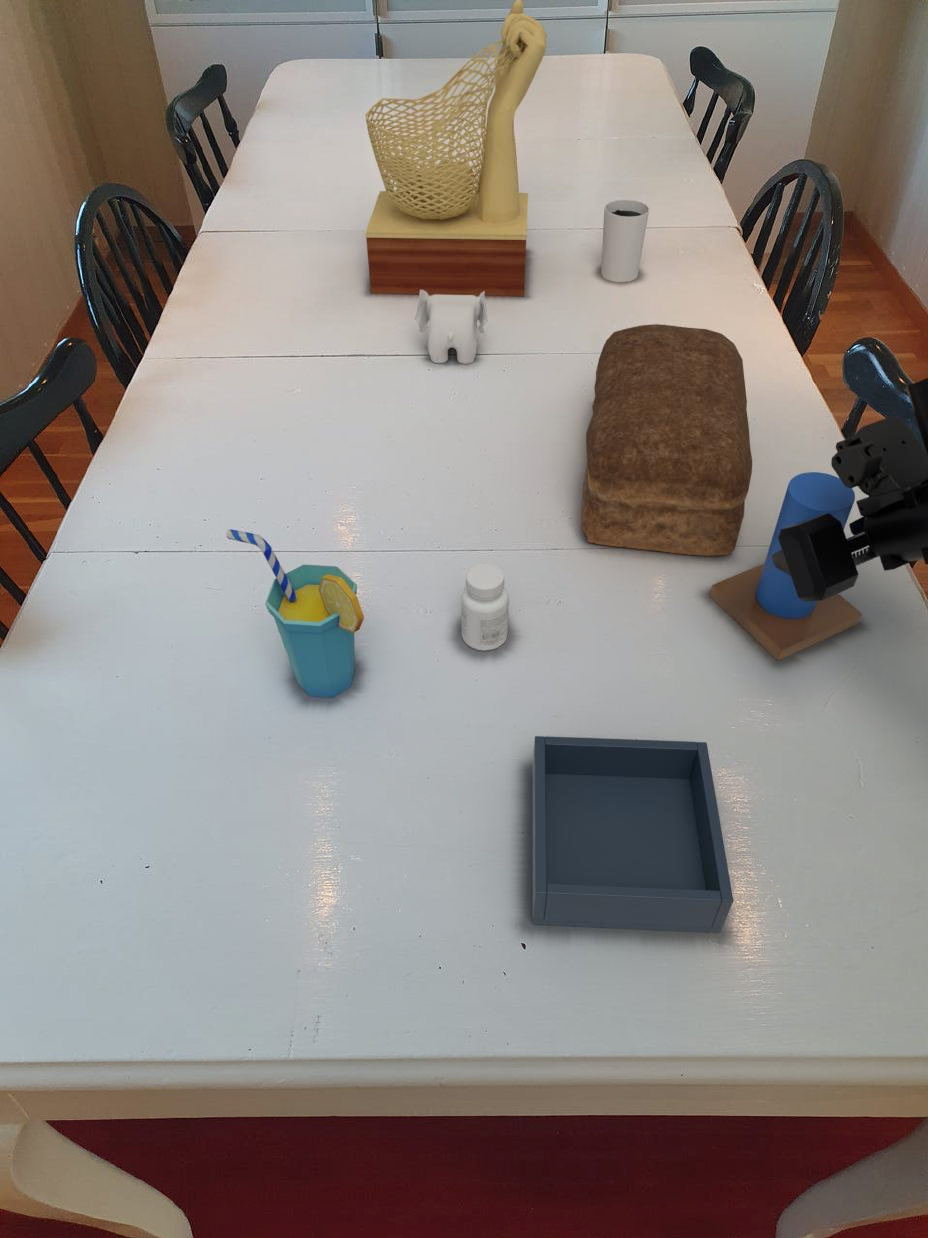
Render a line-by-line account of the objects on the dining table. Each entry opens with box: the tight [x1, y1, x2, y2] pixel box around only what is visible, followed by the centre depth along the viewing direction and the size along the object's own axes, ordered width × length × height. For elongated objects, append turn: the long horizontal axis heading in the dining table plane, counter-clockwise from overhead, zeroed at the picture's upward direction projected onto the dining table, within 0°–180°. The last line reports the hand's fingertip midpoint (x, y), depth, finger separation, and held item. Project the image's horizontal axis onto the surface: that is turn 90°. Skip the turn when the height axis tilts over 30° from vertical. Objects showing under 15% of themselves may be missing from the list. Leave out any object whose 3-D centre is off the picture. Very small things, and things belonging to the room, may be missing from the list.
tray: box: [531, 735, 734, 934], centre depth 69 cm, size 14×14×5 cm
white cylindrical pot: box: [600, 199, 650, 283], centre depth 138 cm, size 7×7×10 cm
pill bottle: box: [460, 563, 510, 651], centre depth 84 cm, size 4×4×8 cm
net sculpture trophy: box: [364, 0, 548, 297], centre depth 130 cm, size 25×18×35 cm
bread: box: [580, 323, 753, 557], centre depth 100 cm, size 17×30×13 cm, turn 170°
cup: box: [225, 528, 365, 699], centre depth 78 cm, size 14×8×15 cm, turn 62°
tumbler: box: [756, 471, 856, 619], centre depth 83 cm, size 6×6×13 cm
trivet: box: [709, 563, 863, 662], centre depth 88 cm, size 10×10×2 cm
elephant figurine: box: [414, 290, 489, 365], centre depth 122 cm, size 10×12×9 cm
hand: (813, 544), depth 82 cm, fingers open, 9 cm apart
